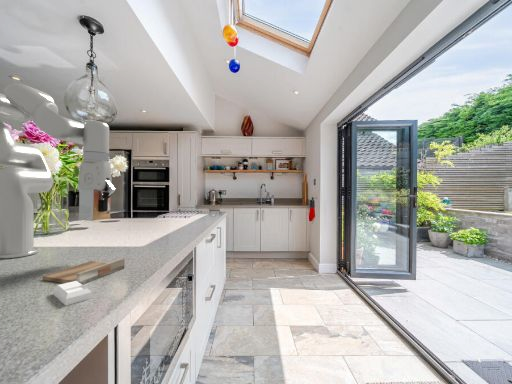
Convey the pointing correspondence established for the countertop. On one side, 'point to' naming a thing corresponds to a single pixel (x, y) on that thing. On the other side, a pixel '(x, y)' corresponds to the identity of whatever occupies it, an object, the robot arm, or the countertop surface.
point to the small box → (91, 205)
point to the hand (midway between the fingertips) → (95, 210)
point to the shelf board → (85, 272)
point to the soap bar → (72, 293)
